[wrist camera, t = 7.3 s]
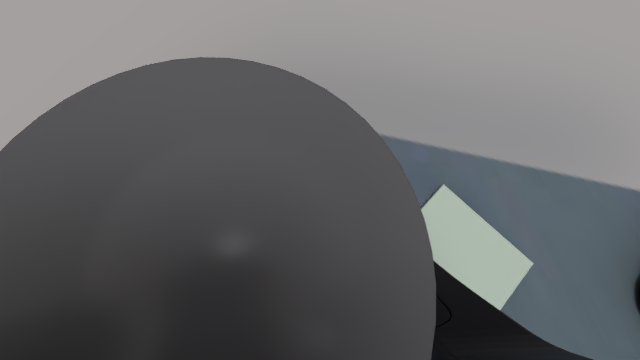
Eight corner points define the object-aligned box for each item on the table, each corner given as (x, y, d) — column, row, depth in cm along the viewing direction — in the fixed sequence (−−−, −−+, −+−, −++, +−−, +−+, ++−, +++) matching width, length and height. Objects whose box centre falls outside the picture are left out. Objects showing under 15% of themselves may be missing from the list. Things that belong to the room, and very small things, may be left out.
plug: (348, 250, 15) (538, 291, 2) (288, 307, 14) (72, 866, 2) (298, 192, 16) (238, -6, 3) (238, 243, 15) (-177, 246, 2)
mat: (529, 263, 22) (533, 263, 21) (463, 355, 20) (466, 357, 19) (441, 185, 23) (443, 184, 23) (371, 263, 21) (373, 264, 21)
